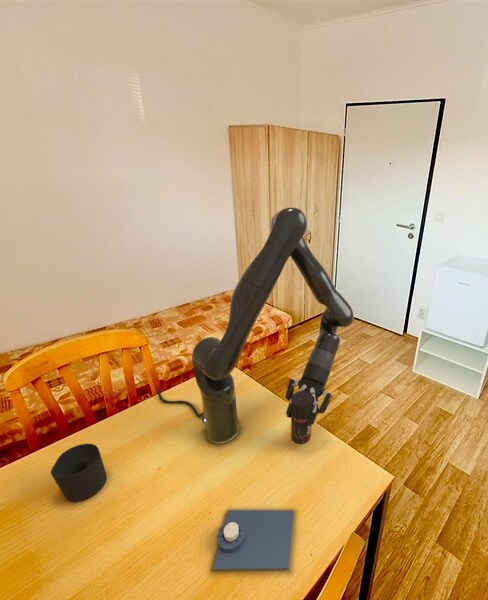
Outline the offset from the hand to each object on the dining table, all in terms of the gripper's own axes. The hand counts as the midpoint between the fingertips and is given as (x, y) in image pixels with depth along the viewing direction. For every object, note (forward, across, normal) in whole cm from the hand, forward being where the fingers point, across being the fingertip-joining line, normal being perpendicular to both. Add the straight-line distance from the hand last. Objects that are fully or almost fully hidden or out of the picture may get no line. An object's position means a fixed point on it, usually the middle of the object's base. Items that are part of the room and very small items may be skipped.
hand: (298, 421), depth 91 cm
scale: (+26, -4, +10) cm, 28 cm away
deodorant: (+4, 0, -7) cm, 8 cm away
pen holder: (+33, +42, +16) cm, 56 cm away
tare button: (+26, +1, +13) cm, 29 cm away
